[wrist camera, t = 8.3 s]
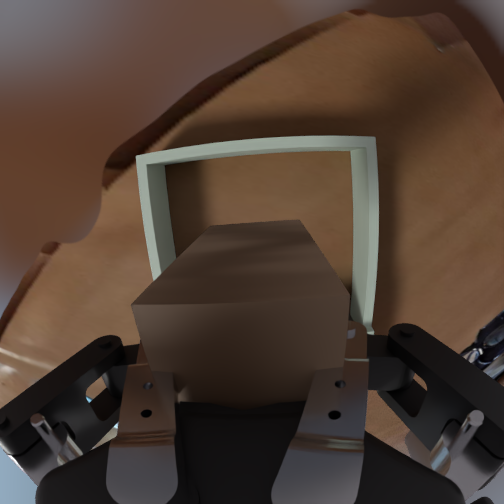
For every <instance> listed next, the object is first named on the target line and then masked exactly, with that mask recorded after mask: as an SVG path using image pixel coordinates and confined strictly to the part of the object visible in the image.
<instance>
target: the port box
mask: <svg viewBox="0 0 504 504" xmlns="http://www.w3.org/2000/svg"><path fill="white" fill-rule="evenodd" d="M303 151H350V152H351V166H352V185H353V275H352V294H351V309H350V315H351V317H352V319H353V320H354V321H356V322H359V323H361V324H363V325H364V326H365V327H366V329H367V333H368V334H372V335H374V330H373V328H372V327H371V325H372V317H373V308H374V299H375V288H376V276H377V260H378V236H379V190H378V166H377V151H376V139H375V137H367V136H293V137H273V138H259V139H247V140H236V141H226V142H218V143H210V144H202V145H195V146H188V147H182V148H176V149H170V150H164V151H159V152H153V153H148V154H143V155H138V156H136V163H137V174H138V183H139V192H140V201H141V209H142V216H143V223H144V230H145V236H146V242H147V248H148V254H149V259H150V265H151V270H152V275H153V280H155V279H156V278H157V277H158V276H159V275H160V274H161V273H162V272H163V271H164V270H165V269H166V268H167V267H168V266H169V265H170V264H171V263H172V262H173V261H174V260H175V259H176V253H175V247H174V240H173V233H172V226H171V218H170V210H169V202H168V193H167V184H166V174H165V165H169V164H175V163H182V162H189V161H196V160H204V159H212V158H221V157H230V156H240V155H252V154H265V153H281V152H303Z"/></svg>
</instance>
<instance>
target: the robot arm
mask: <svg viewBox="0 0 504 504" xmlns="http://www.w3.org/2000/svg"><path fill="white" fill-rule="evenodd" d="M415 373H416V374H417V375H418V376H419V377H421V378H422V379H423V380H424V381H425V383H426V385H427V391H426V390H425V389H424V388H423V387H422V386H421V385H420V384H418V383H417V382H416V381H415V380H414V379H413V377H414V374H415ZM101 376H102V378H103V380H104V382H105V385H106V387H107V388H105V389H104V390H103V391H102V392H101V393H100V394H99V395H98V396H96V397H95V398H94V399H93V400H92V401H91V402H90V403H89V402H88V401H87V399H86V390H87V388H88V387H89V386H90V385H91V384H92V383H94V382H95V381H96V380H97V379H98V378H100V377H101ZM368 390H377V393H378V395H379V396H380V397H381V398H382V399H383V400H384V401H385V402H386V404H387V405H388V406H389V407H390V408H391V409H392V410H393V411H394V412H395V414H396V415H397V416H398V417H399V418H400V419H401V420H402V421H403V422H404V423H405V425H406V426H407V427H408V428H409V429H410V431H409V432H408V434H407V435H406V437H405V444H406V446H407V448H408V451H409V453H410V456H411V458H410V457H408V456H406V455H405V454H403V453H401V452H399V451H398V450H396V449H394V448H393V447H391V446H389V445H388V444H386V443H384V442H383V441H381V440H379V439H378V438H376V437H374V436H373V435H371V434H370V433H368V432H367V431H365V422H366V411H367V397H368ZM178 394H180V393H179V390H178V387H177V384H176V381H175V378H174V375H173V372H162V371H151V369H150V366H149V363H148V360H147V357H146V354H145V351H144V348H143V345H142V342H141V339H140V344H136V345H128V346H123V344H122V341H121V339H120V337H118V336H115V335H107V336H103V337H100V338H98V339H96V340H94V341H93V342H91V343H90V344H89V345H87V346H86V347H84V348H83V349H82V350H80V351H79V352H77V353H76V354H75V355H73V356H72V357H70V358H69V359H68V360H66V361H65V362H63V363H62V364H61V365H59V366H58V367H56V368H55V369H54V370H52V371H51V372H50V373H48V374H47V375H45V376H44V377H43V378H41V379H40V380H39V381H37V382H36V383H35V384H33V385H32V386H30V387H29V388H28V389H26V390H25V391H24V392H22V393H21V394H20V395H18V396H17V397H16V398H14V399H13V400H12V401H10V402H9V403H8V404H6V405H5V406H4V407H2V408H1V409H0V446H1V447H2V448H3V450H4V452H5V453H6V454H7V455H8V456H9V457H10V458H11V460H12V461H13V462H14V463H15V464H17V466H18V467H19V468H20V469H21V470H22V471H23V472H25V473H26V474H27V475H28V476H29V477H30V478H31V479H32V480H33V481H34V483H35V484H36V485H37V486H38V487H37V491H36V497H35V499H36V504H465V501H466V500H467V499H468V498H469V497H470V496H472V495H473V494H474V492H476V491H477V490H480V489H482V488H483V487H485V486H486V485H487V484H488V483H489V482H490V481H491V480H492V479H493V478H494V477H495V476H496V475H497V474H498V473H499V472H500V471H501V470H502V469H503V468H504V387H503V386H502V385H501V384H499V383H498V382H497V381H495V380H494V379H492V378H491V377H490V376H488V375H487V374H486V373H484V372H483V371H481V370H480V369H479V368H477V367H476V366H474V365H473V364H472V363H470V362H469V361H467V360H466V359H465V358H463V357H462V356H460V355H459V354H458V353H456V352H455V351H453V350H452V349H450V348H449V347H448V346H446V345H445V344H443V343H442V342H440V341H439V340H438V339H436V338H435V337H433V336H432V335H430V334H429V333H427V332H426V331H424V330H423V329H421V328H420V327H418V326H416V325H413V324H408V323H402V324H397V325H394V326H392V327H391V328H390V330H389V334H388V336H384V335H372V334H368V333H367V329H366V327H365V326H364V325H363V324H361V323H359V322H356V321H354V320H353V319H352V317H351V315H350V313H349V317H348V329H347V339H346V349H345V358H344V366H343V367H337V368H328V369H319V370H316V371H315V374H314V378H313V381H312V385H311V388H310V392H309V395H308V398H307V401H297V402H282V403H275V404H271V405H266V406H262V407H257V408H252V409H246V410H241V409H235V408H231V407H226V406H221V405H217V404H212V403H199V402H185V401H180V402H179V401H178ZM118 421H119V423H118V431H117V436H116V437H115V438H113V439H111V440H109V441H108V442H106V443H104V444H102V445H100V446H98V447H97V448H95V449H93V450H91V449H92V448H93V447H94V446H95V445H96V444H97V443H98V442H99V441H100V440H101V439H102V438H103V437H104V436H105V435H106V434H107V433H108V432H109V431H110V430H111V429H112V428H113V427H114V426H115V424H116V423H117V422H118ZM90 450H91V451H90ZM471 504H494V503H493V502H492V500H491V499H490V498H488V497H481V498H479V499H477V500H476V501H474V502H472V503H471Z"/></svg>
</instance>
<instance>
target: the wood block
mask: <svg viewBox="0 0 504 504" xmlns="http://www.w3.org/2000/svg"><path fill="white" fill-rule="evenodd" d="M349 304H350V294H349V292H348V291H347V289H346V288H345V286H344V285H343V283H342V282H341V280H340V279H339V277H338V275H337V274H336V272H335V271H334V269H333V268H332V266H331V265H330V263H329V262H328V260H327V259H326V257H325V256H324V254H323V253H322V251H321V250H320V249H319V247H318V246H317V244H316V243H315V241H314V240H313V238H312V237H311V235H310V234H309V233H308V231H307V230H306V228H305V227H304V225H303V224H302V223H301V221H300V220H284V221H269V222H254V223H240V224H227V225H215V226H210V227H209V228H208V229H207V230H206V231H205V232H203V233H202V234H201V235H200V236H199V237H198V238H197V239H196V240H195V241H194V242H193V243H192V244H191V245H190V246H189V247H188V248H187V249H186V250H185V251H184V252H183V253H182V254H181V255H180V256H179V257H177V258H176V259H175V260H174V261H173V262H172V263H171V264H170V265H169V266H168V267H167V268H166V269H165V270H164V271H163V272H162V273H161V274H160V275H159V276H158V277H157V278H156V279H155V280H154V281H153V282H152V283H151V284H150V285H149V286H148V287H147V288H146V290H145V291H144V292H143V293H142V294H141V295H140V296H139V297H138V298H137V299H136V300H135V301H134V302H133V303H132V304H131V307H132V311H133V314H134V318H135V321H136V325H137V328H138V332H139V335H140V339H141V342H142V345H143V348H144V351H145V354H146V357H147V360H148V363H149V366H150V369H151V371H162V372H173V375H174V378H175V381H176V384H177V387H178V390H179V393H180V394H178V401H179V402H180V401H185V402H199V403H212V404H217V405H221V406H226V407H231V408H235V409H241V410H246V409H252V408H257V407H262V406H266V405H271V404H275V403H282V402H297V401H307V398H308V395H309V392H310V388H311V385H312V381H313V378H314V374H315V371H316V370H319V369H328V368H337V367H343V366H344V358H345V349H346V339H347V329H348V317H349Z"/></svg>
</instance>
